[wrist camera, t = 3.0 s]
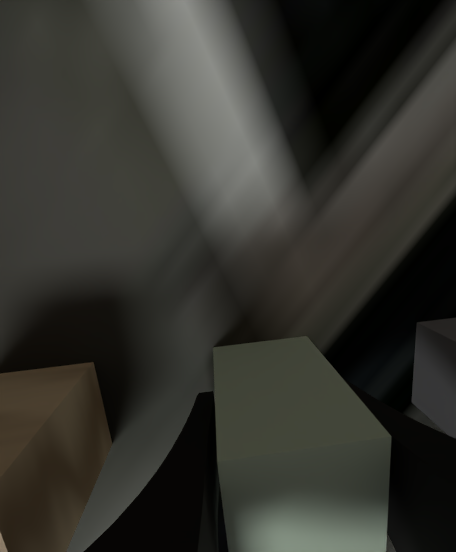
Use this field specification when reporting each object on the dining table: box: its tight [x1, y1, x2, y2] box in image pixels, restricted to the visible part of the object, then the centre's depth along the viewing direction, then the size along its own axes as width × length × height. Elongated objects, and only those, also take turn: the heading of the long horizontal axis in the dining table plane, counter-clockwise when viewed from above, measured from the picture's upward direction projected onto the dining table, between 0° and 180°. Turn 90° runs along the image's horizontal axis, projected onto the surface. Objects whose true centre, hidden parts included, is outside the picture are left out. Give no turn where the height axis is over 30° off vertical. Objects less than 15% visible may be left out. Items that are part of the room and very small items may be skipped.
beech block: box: [0, 362, 112, 552], centre depth 10 cm, size 4×4×6 cm
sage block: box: [213, 336, 391, 552], centre depth 10 cm, size 4×4×6 cm
